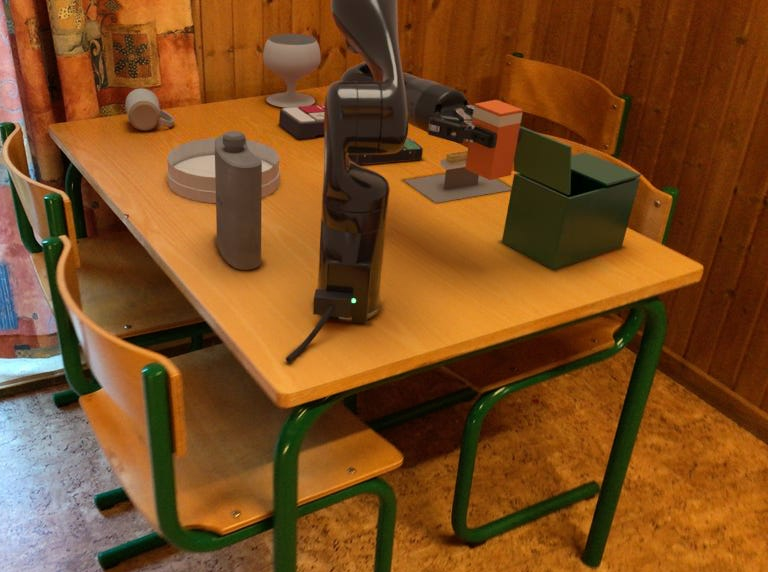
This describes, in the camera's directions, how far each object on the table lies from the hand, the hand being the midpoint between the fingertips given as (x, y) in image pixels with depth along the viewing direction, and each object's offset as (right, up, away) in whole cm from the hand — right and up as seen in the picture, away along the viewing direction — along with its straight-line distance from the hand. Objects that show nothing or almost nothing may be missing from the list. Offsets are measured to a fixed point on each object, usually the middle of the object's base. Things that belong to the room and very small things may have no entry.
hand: (507, 138), depth 123 cm
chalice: (-31, +32, +87) cm, 98 cm away
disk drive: (-12, +11, +57) cm, 60 cm away
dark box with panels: (-25, +21, +71) cm, 78 cm away
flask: (-41, -14, +18) cm, 47 cm away
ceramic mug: (-64, +21, +69) cm, 96 cm away
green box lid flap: (+8, -1, +9) cm, 12 cm away
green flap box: (+15, -12, +23) cm, 30 cm away
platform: (+2, +2, +44) cm, 45 cm away
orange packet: (-2, -4, +5) cm, 7 cm away
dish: (-45, +3, +43) cm, 62 cm away
